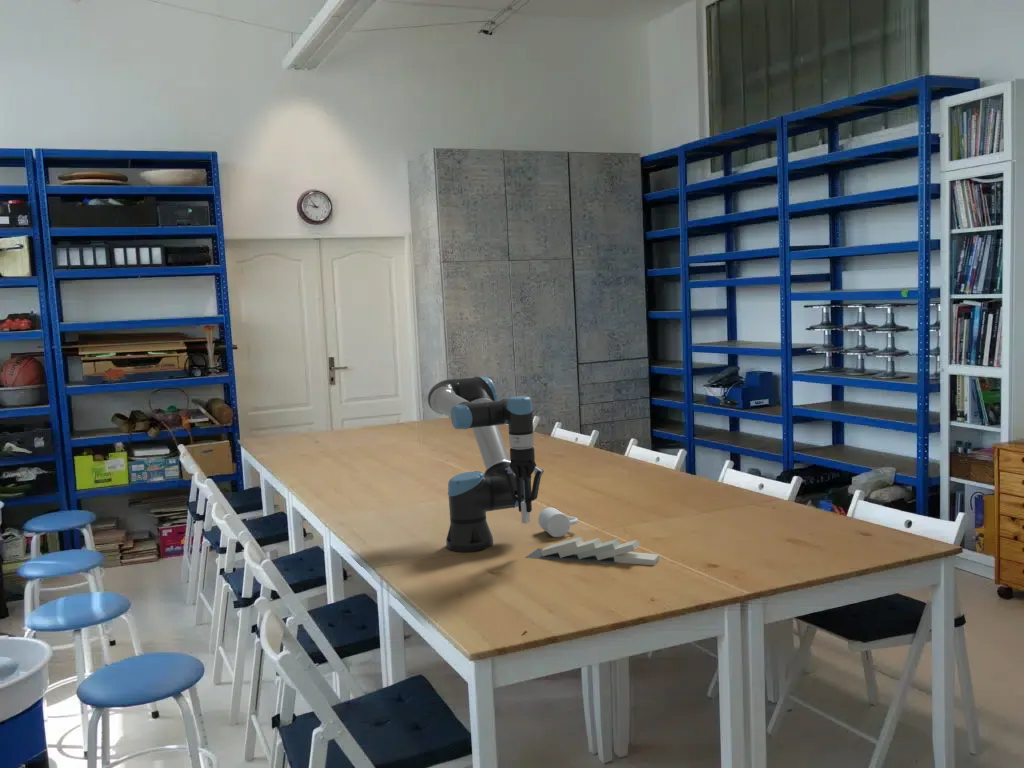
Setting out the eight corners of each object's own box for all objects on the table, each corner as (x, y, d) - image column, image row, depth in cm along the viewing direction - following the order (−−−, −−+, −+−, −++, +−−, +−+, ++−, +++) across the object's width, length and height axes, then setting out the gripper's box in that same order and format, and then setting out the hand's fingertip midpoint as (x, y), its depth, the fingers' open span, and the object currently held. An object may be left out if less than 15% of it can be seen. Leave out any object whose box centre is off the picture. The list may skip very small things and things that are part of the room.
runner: (525, 558, 277) (524, 557, 277) (538, 549, 286) (538, 548, 286) (615, 565, 265) (615, 564, 265) (626, 555, 274) (626, 554, 274)
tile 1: (540, 550, 277) (575, 541, 272) (547, 545, 282) (581, 536, 277) (542, 556, 277) (577, 547, 272) (549, 551, 282) (583, 542, 277)
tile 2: (558, 552, 275) (593, 542, 269) (565, 547, 280) (599, 537, 274) (560, 557, 275) (595, 548, 269) (567, 552, 280) (601, 543, 274)
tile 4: (595, 554, 270) (632, 544, 264) (601, 549, 274) (637, 539, 269) (597, 560, 269) (634, 550, 264) (603, 555, 274) (639, 545, 269)
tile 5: (614, 555, 267) (654, 560, 262) (620, 550, 272) (659, 554, 267) (614, 561, 267) (654, 566, 262) (620, 556, 272) (659, 560, 267)
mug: (547, 539, 297) (546, 515, 297) (538, 532, 307) (537, 508, 306) (582, 534, 301) (581, 510, 300) (572, 527, 310) (571, 504, 309)
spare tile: (576, 553, 272) (612, 543, 267) (583, 548, 277) (618, 538, 272) (578, 559, 272) (614, 549, 267) (585, 554, 277) (620, 544, 272)
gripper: (497, 448, 278) (501, 524, 281) (536, 450, 273) (540, 526, 276) (507, 444, 285) (511, 517, 288) (546, 445, 280) (550, 520, 282)
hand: (525, 522), depth 282 cm, fingers closed
